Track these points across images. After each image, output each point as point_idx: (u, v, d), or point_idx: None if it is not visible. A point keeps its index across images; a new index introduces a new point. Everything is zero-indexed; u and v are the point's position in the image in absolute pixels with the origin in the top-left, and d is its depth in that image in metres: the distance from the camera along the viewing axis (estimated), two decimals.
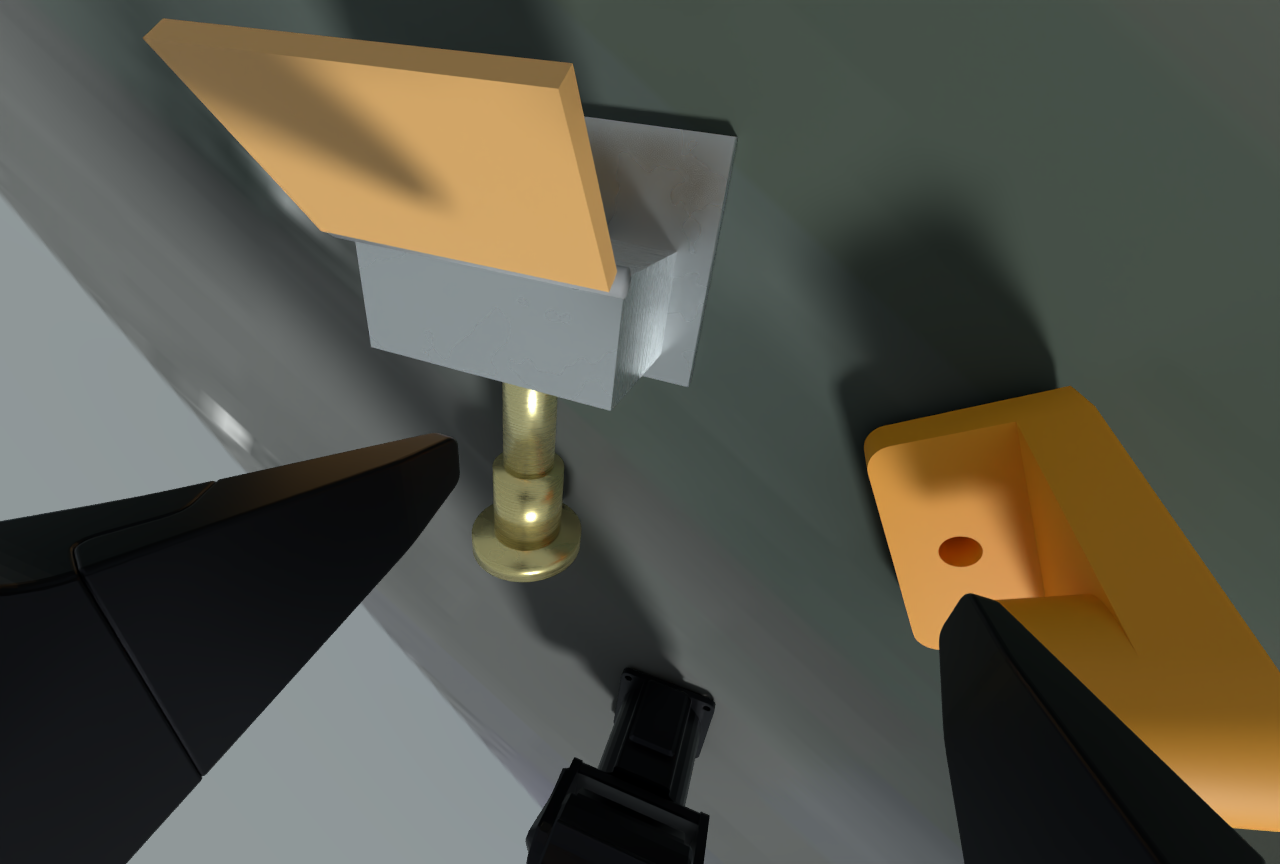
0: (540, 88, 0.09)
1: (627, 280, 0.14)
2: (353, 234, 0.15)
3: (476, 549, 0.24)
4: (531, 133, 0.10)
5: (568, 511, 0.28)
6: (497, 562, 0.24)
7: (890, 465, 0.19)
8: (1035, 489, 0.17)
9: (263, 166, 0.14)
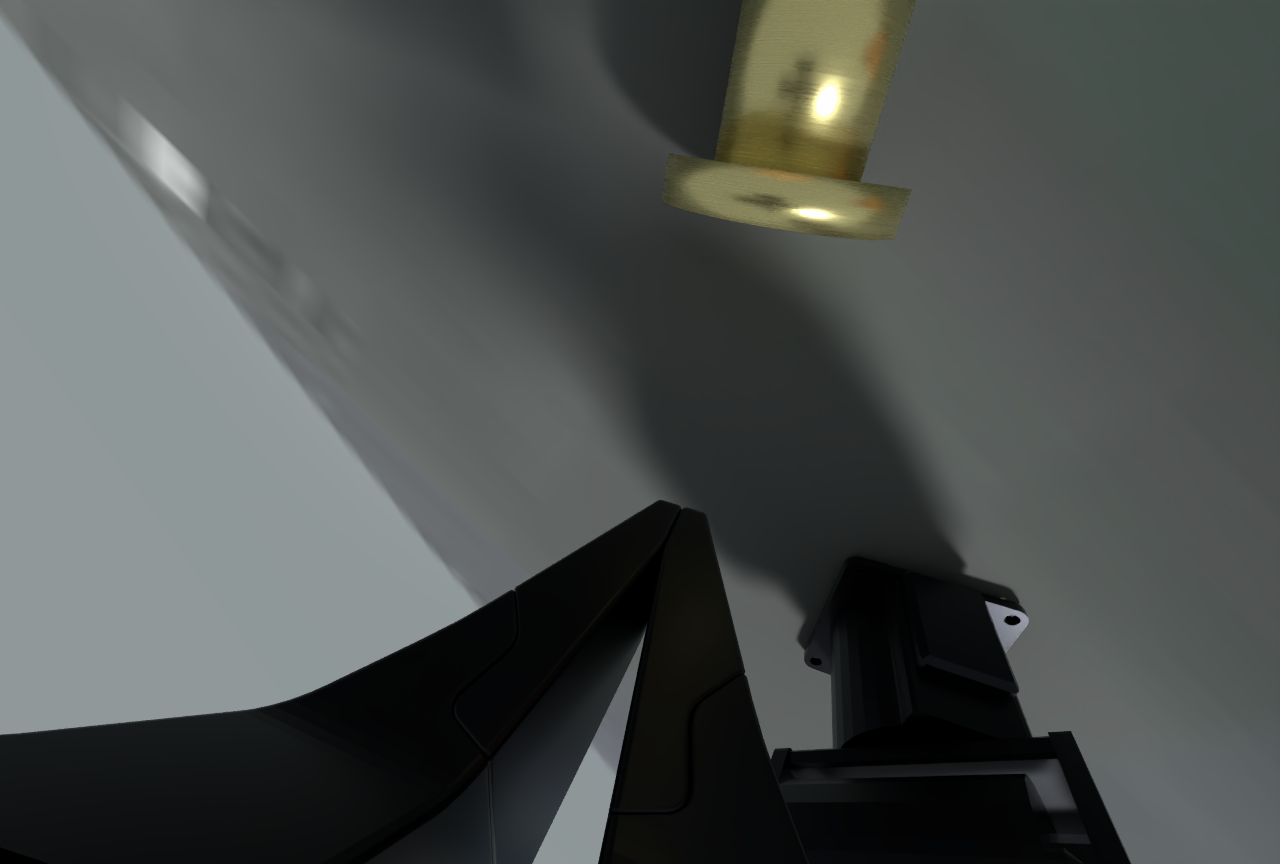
0: None
1: None
2: None
3: (700, 168, 0.10)
4: None
5: None
6: (772, 169, 0.09)
7: None
8: None
9: None
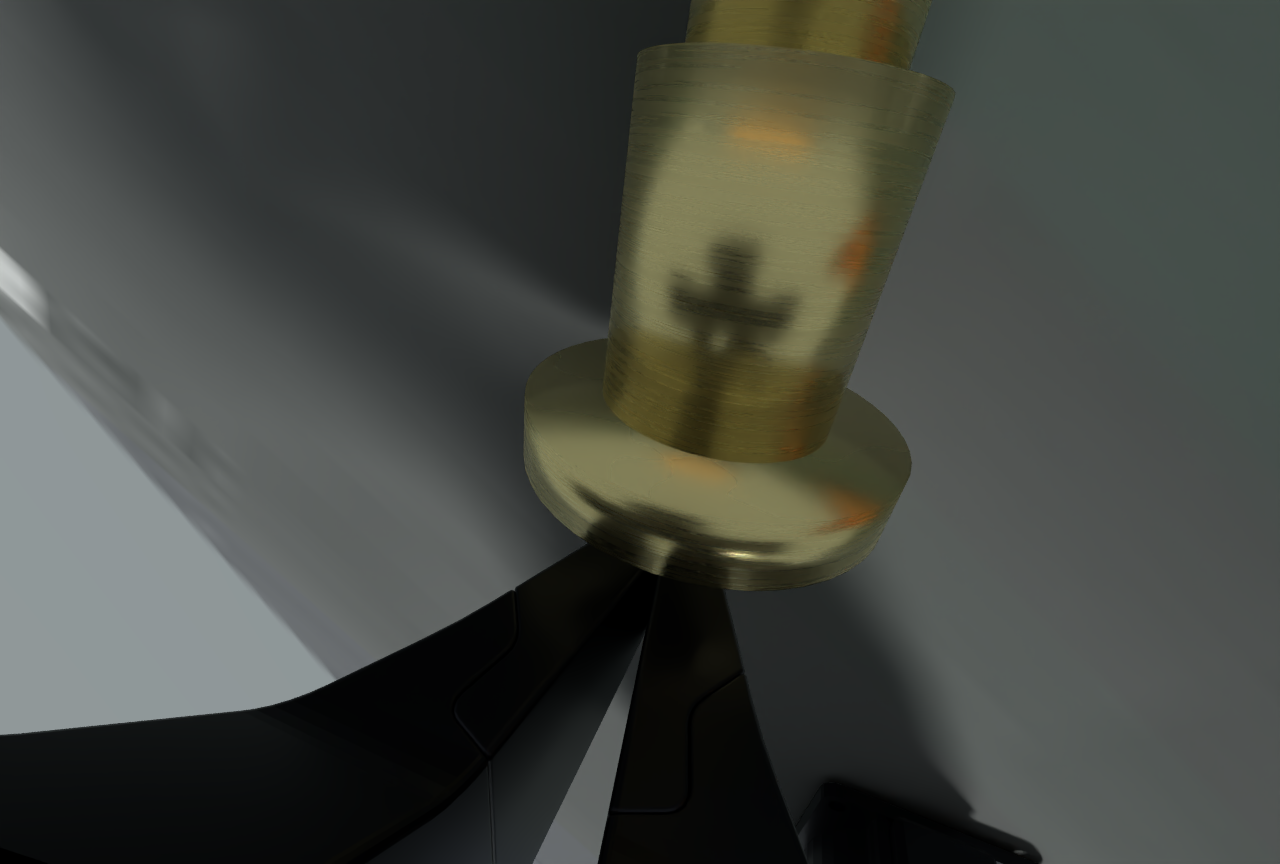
0: None
1: None
2: None
3: (550, 453, 0.06)
4: None
5: None
6: (656, 501, 0.05)
7: None
8: None
9: None
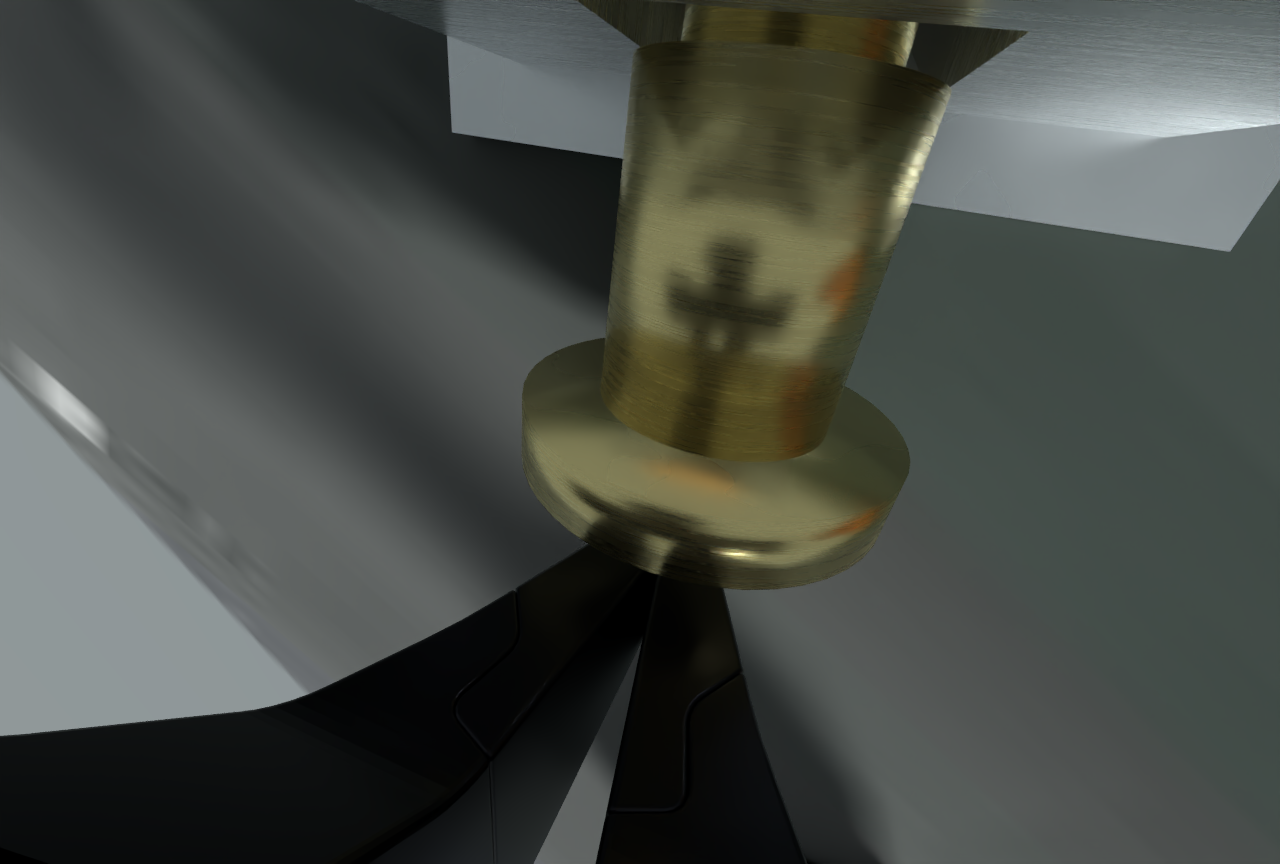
0: None
1: None
2: None
3: (548, 453, 0.06)
4: None
5: None
6: (653, 500, 0.05)
7: None
8: None
9: None
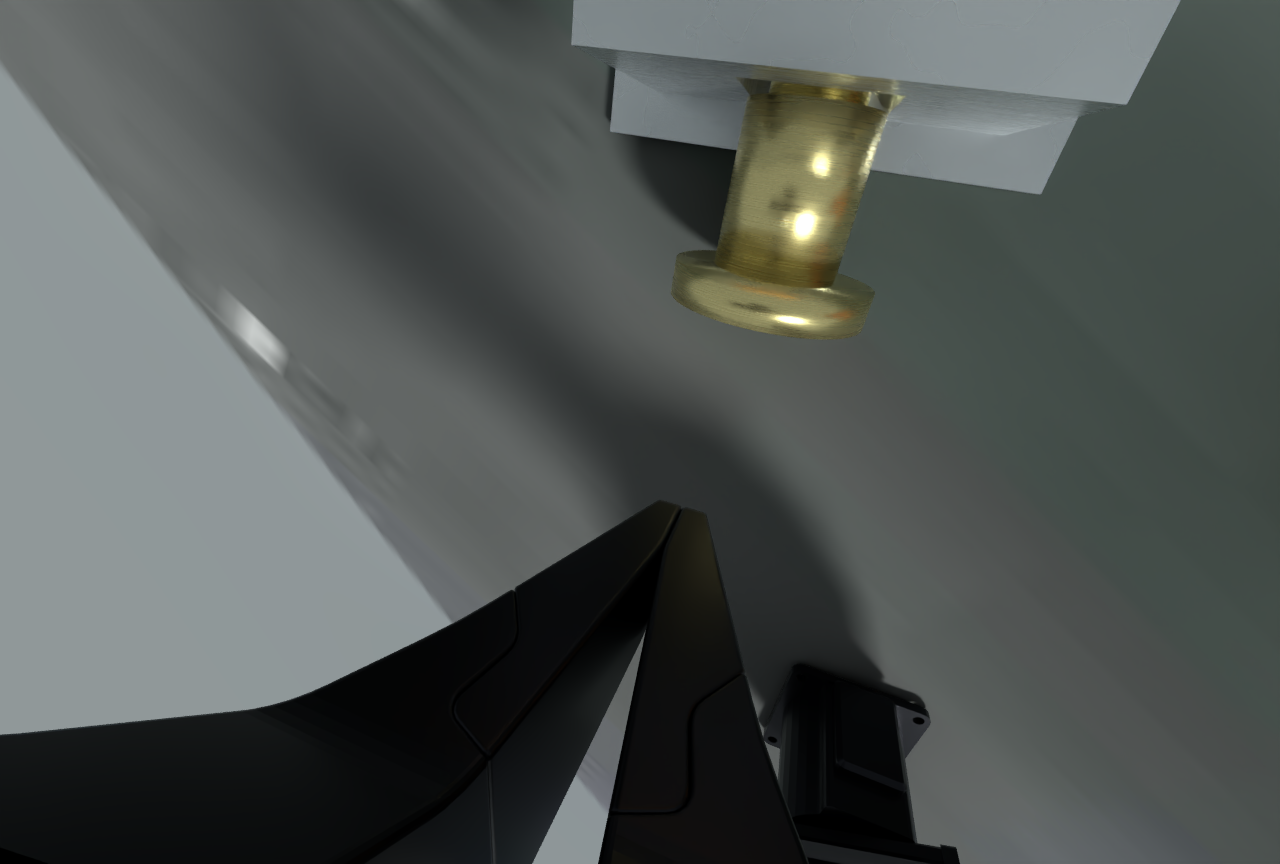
0: None
1: None
2: None
3: (703, 280, 0.13)
4: None
5: None
6: (759, 289, 0.12)
7: None
8: None
9: None
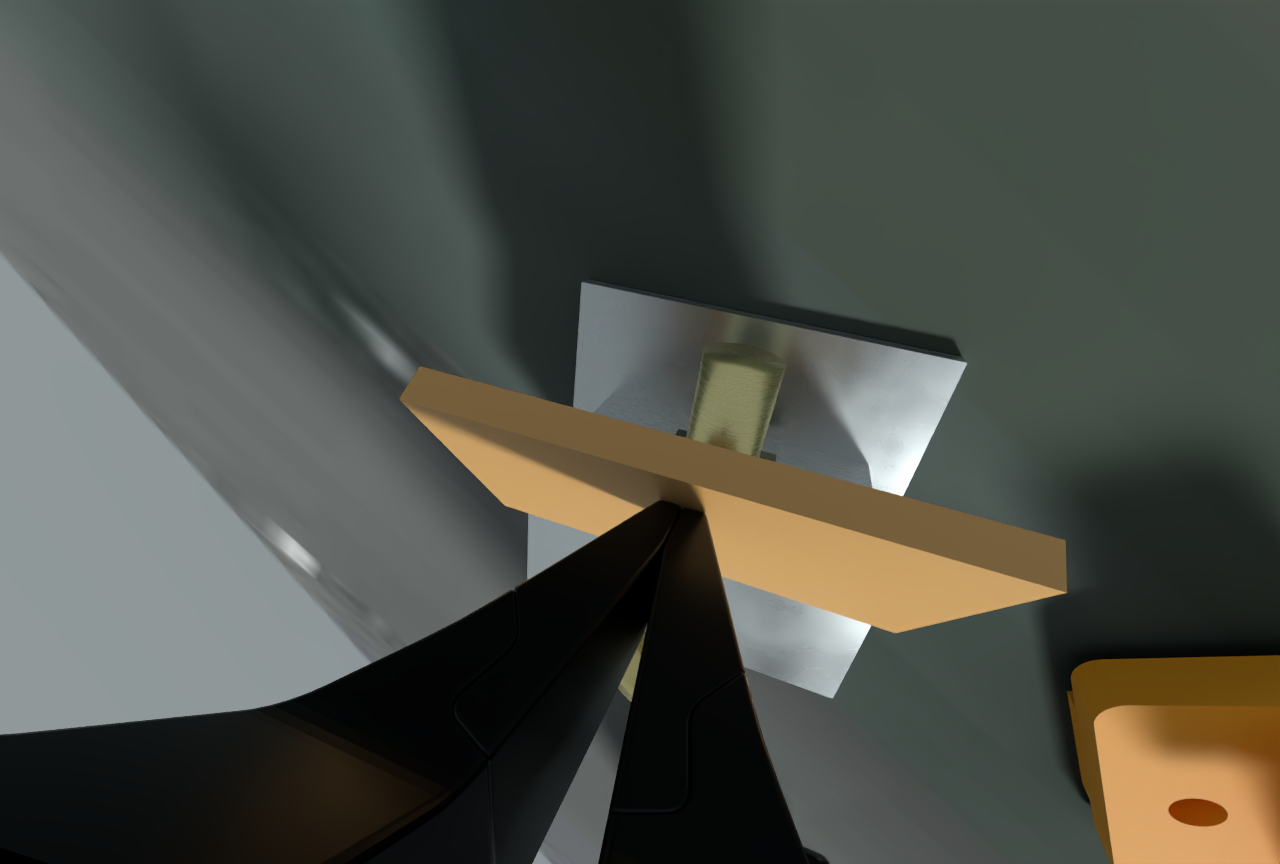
0: (1029, 579, 0.06)
1: None
2: (550, 519, 0.13)
3: None
4: (956, 584, 0.07)
5: None
6: None
7: (1125, 722, 0.17)
8: None
9: (473, 472, 0.11)
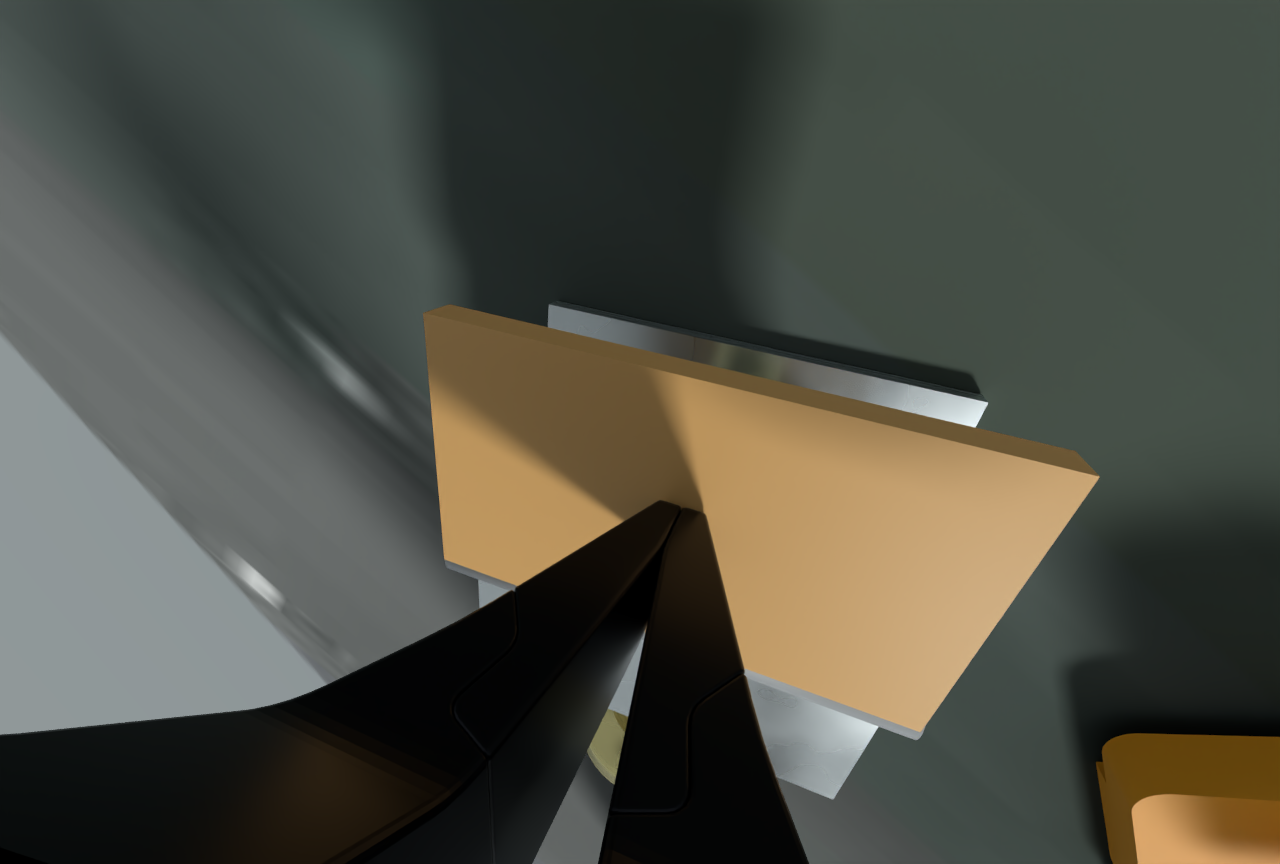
0: (1060, 470, 0.06)
1: None
2: (500, 573, 0.11)
3: (594, 747, 0.17)
4: (989, 516, 0.07)
5: None
6: None
7: (1168, 812, 0.15)
8: None
9: (439, 471, 0.10)
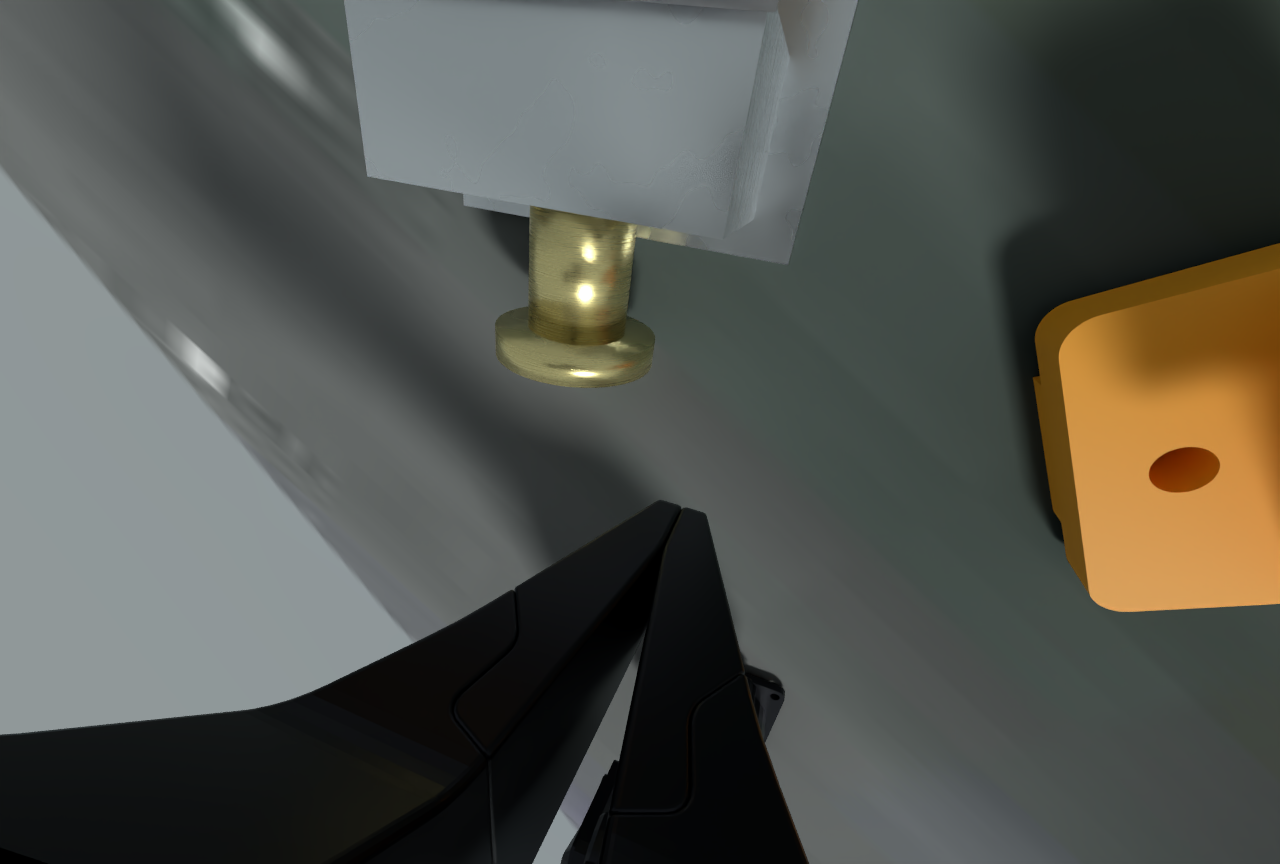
0: None
1: None
2: None
3: (503, 341, 0.16)
4: None
5: (631, 320, 0.19)
6: (536, 351, 0.15)
7: (1095, 345, 0.14)
8: None
9: None
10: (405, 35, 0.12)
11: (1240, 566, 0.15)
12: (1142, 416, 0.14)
